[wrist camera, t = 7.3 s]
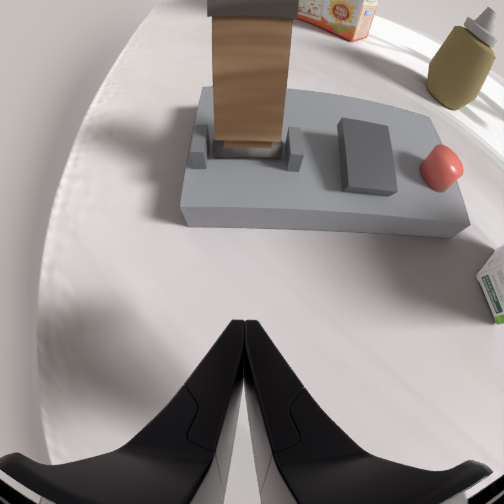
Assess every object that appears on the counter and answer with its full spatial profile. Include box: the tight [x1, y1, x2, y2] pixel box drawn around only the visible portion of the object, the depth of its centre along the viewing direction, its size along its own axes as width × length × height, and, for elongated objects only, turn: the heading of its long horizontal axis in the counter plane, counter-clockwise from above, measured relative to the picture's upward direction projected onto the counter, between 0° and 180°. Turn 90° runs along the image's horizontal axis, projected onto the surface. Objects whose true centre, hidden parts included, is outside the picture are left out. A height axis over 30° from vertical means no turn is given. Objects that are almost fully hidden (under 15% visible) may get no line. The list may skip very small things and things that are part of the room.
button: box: [420, 144, 463, 192], centre depth 17 cm, size 3×3×2 cm
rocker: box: [337, 117, 398, 196], centre depth 17 cm, size 5×4×1 cm
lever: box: [207, 0, 299, 159], centre depth 13 cm, size 2×4×11 cm, turn 89°
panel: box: [180, 86, 470, 238], centre depth 19 cm, size 12×22×5 cm, turn 89°
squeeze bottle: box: [427, 7, 497, 110], centre depth 19 cm, size 8×8×18 cm
